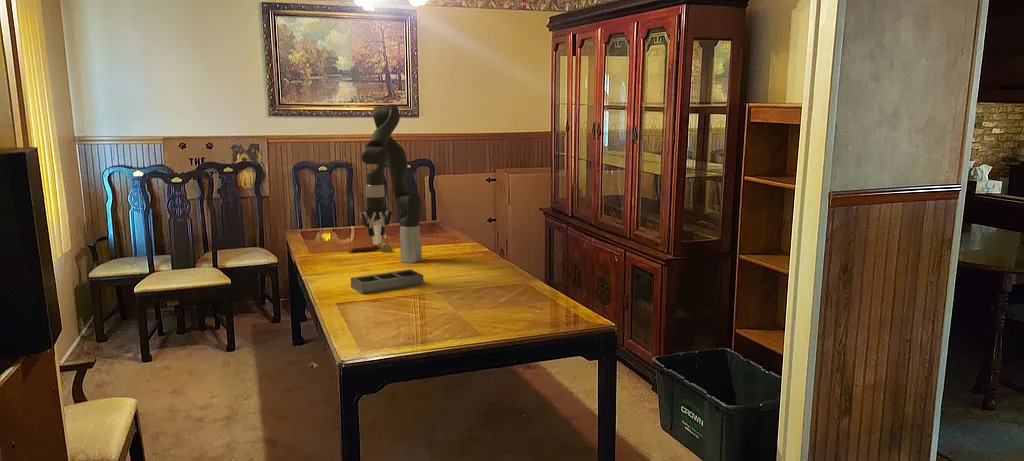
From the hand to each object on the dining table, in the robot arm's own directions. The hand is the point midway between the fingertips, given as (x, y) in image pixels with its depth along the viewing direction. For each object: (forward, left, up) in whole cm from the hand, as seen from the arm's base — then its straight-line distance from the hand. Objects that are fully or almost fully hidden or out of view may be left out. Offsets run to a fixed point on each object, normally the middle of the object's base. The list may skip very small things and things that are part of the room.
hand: (376, 235), depth 292 cm
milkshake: (0, 0, -3) cm, 3 cm away
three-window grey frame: (-1, +8, -20) cm, 22 cm away
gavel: (-19, -58, -20) cm, 64 cm away
